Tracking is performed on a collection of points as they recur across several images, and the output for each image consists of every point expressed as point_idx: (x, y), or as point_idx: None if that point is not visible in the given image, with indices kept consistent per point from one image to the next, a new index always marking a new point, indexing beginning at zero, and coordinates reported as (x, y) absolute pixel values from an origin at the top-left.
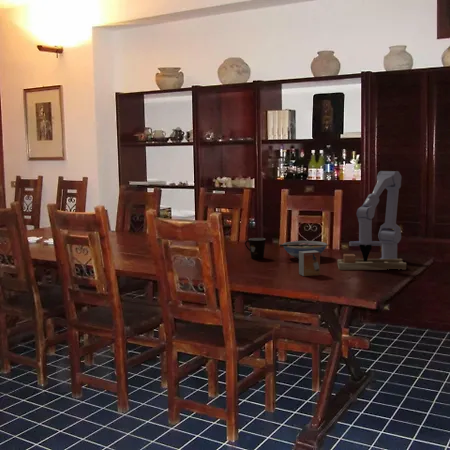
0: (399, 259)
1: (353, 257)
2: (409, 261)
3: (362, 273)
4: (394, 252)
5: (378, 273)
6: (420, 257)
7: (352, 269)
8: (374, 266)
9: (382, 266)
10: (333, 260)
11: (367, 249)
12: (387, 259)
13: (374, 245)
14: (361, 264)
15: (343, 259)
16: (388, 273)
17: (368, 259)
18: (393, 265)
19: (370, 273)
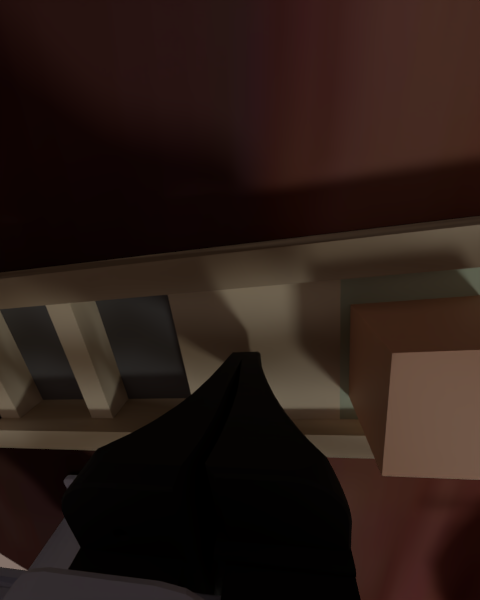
0: (4, 429)
1: (411, 337)
2: (28, 488)
3: (288, 24)
4: (43, 552)
5: (125, 63)
6: (12, 550)
7: (377, 228)
8: (166, 255)
9: (100, 263)
10: (458, 549)
11: (177, 442)
12: (78, 430)
13: (13, 576)
14: (291, 244)
15: None
16: (41, 83)
17: None
18: (12, 275)
19: (202, 44)
